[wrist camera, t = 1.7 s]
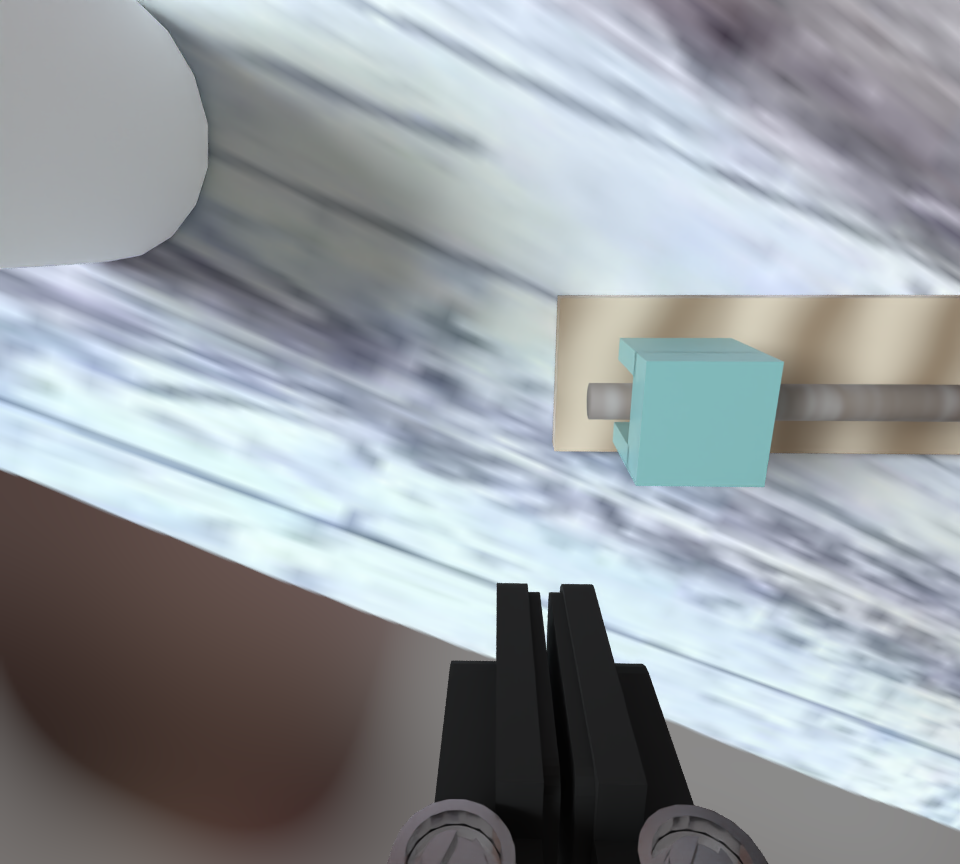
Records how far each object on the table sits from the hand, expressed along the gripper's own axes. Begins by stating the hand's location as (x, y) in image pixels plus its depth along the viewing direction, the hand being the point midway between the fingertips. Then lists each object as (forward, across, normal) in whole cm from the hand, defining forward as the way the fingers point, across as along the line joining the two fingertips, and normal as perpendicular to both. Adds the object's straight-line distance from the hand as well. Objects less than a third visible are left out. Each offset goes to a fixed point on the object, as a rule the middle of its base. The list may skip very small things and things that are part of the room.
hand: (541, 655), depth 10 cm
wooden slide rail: (+23, -15, 0) cm, 27 cm away
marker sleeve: (+19, -7, 0) cm, 20 cm away
